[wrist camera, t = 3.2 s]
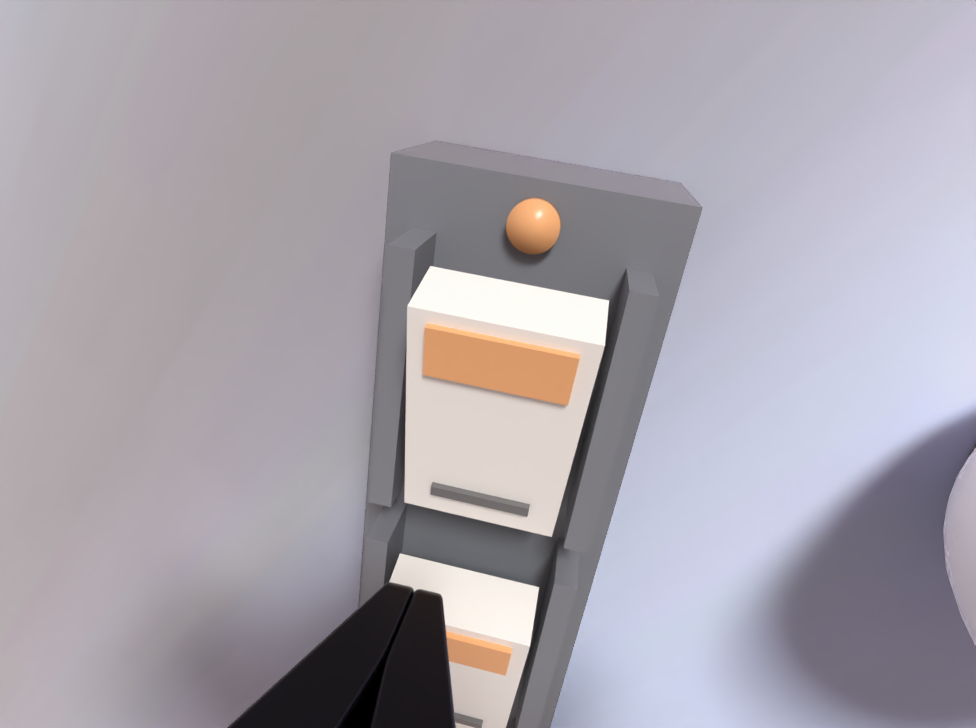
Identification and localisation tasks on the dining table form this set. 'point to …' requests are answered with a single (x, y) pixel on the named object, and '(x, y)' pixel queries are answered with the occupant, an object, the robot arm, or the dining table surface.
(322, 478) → the dining table surface
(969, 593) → the lidded jar
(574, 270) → the rocker switch panel
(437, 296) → the block
